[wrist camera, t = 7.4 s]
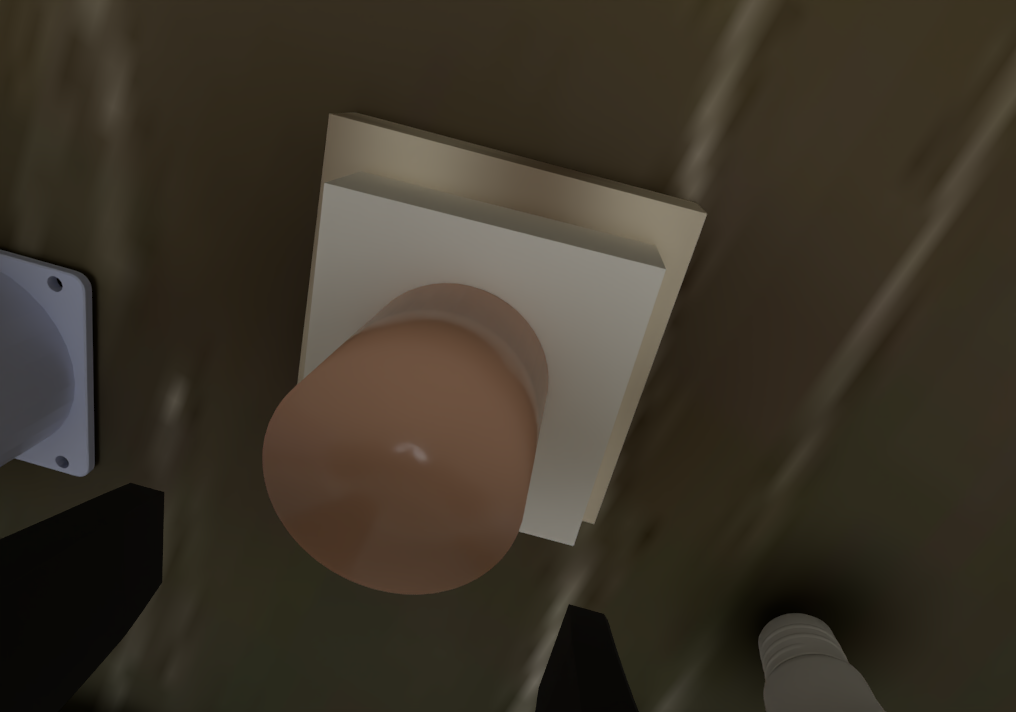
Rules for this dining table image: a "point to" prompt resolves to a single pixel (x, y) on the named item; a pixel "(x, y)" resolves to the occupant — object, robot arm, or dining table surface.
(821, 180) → the dining table surface
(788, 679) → the lightbulb
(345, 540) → the terracotta cylinder
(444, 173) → the birch slab
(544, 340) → the cream slab
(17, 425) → the robot arm
